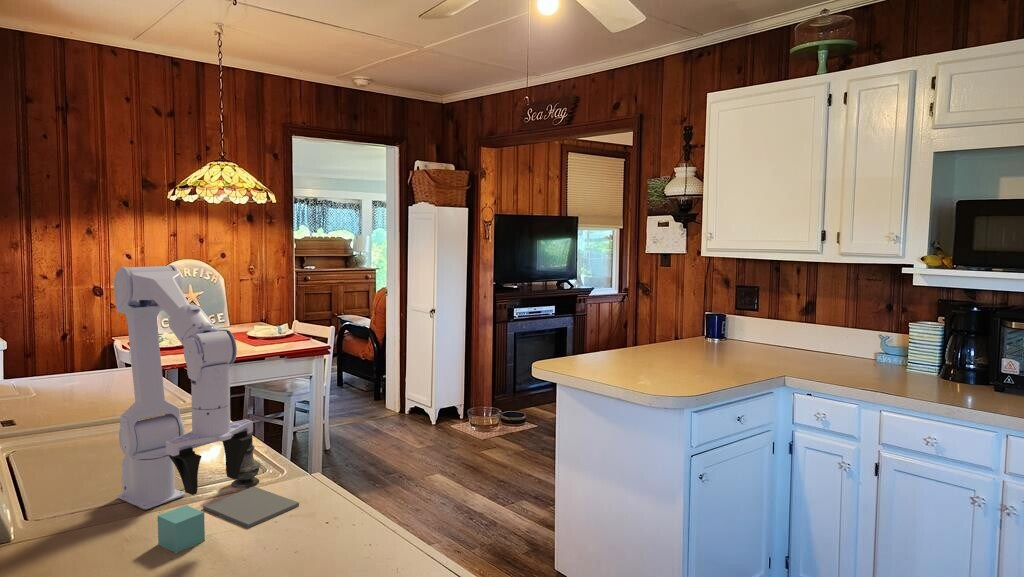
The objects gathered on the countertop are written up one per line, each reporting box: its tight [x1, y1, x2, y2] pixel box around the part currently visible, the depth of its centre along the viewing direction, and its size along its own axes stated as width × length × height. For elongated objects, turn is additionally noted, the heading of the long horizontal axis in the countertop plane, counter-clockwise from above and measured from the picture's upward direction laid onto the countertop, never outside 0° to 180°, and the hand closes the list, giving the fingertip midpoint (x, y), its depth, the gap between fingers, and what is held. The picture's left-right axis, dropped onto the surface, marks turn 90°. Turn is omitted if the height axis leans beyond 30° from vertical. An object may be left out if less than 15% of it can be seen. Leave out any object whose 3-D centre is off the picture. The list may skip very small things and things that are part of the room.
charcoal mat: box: [202, 485, 300, 529], centre depth 125 cm, size 13×11×1 cm
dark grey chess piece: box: [231, 432, 262, 489], centre depth 135 cm, size 6×6×12 cm
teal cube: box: [156, 504, 206, 554], centre depth 111 cm, size 5×5×5 cm
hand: (212, 485), depth 111 cm, fingers open, 7 cm apart
